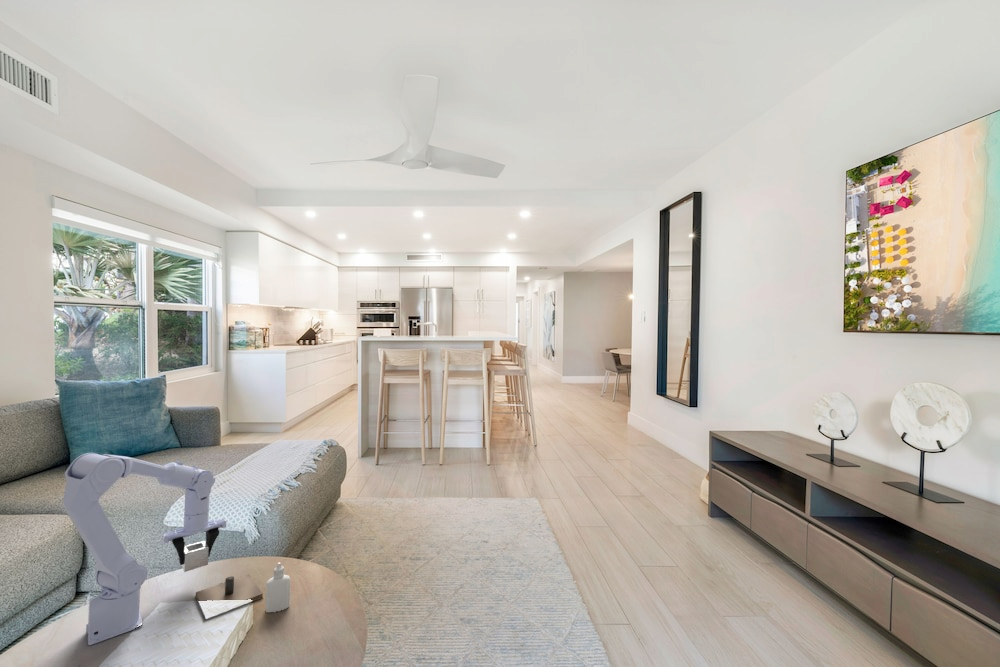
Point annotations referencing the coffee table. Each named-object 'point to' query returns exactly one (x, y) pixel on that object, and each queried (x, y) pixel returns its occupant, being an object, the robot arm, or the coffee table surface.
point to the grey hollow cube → (195, 556)
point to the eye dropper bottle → (278, 590)
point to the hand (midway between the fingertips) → (194, 559)
